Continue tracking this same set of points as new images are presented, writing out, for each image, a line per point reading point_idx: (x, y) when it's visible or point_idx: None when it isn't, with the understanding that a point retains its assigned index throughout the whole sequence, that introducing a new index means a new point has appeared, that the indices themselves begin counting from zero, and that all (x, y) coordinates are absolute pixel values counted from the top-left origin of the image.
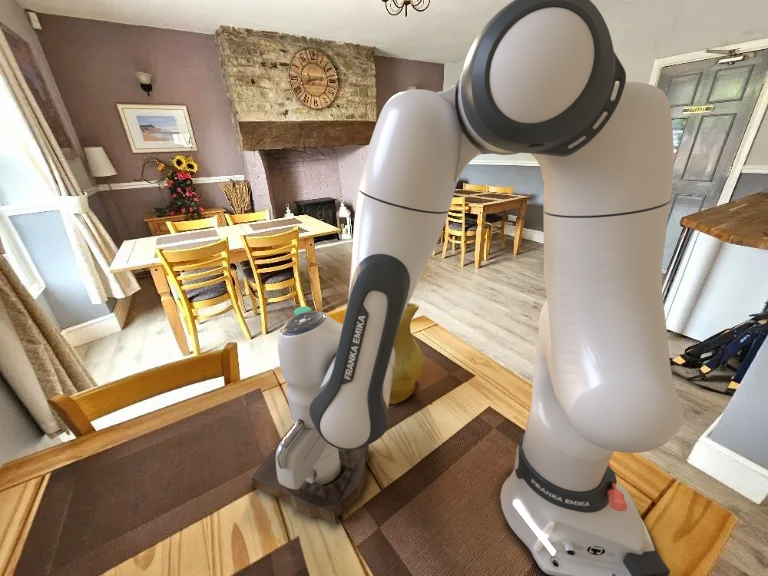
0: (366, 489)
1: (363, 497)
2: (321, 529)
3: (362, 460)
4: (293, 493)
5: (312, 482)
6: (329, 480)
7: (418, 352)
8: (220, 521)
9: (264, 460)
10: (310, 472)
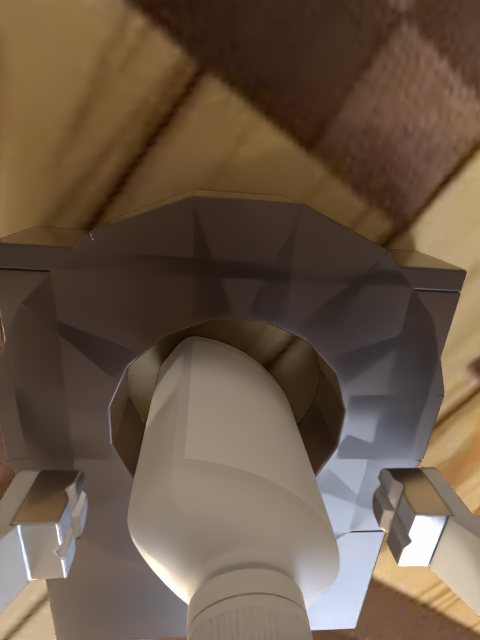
0: (231, 167)
1: (275, 168)
2: None
3: (120, 241)
4: None
5: (437, 472)
6: (255, 364)
7: None
8: None
9: None
10: (437, 536)
